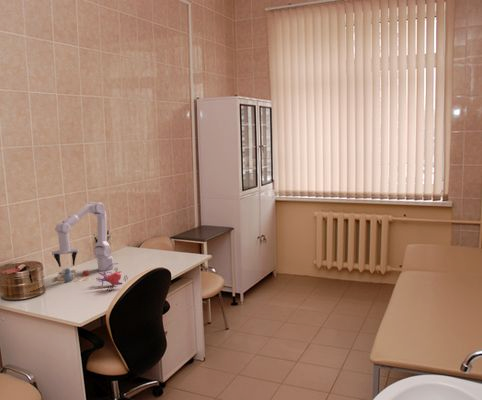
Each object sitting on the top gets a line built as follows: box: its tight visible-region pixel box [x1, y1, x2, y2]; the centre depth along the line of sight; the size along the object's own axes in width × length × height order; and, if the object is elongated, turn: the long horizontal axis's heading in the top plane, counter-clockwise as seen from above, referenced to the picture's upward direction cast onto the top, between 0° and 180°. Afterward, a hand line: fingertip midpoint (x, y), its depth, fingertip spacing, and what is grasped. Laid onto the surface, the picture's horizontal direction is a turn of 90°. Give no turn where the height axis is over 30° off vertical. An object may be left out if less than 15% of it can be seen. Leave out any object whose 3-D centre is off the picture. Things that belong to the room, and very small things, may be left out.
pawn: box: [64, 268, 73, 283], centre depth 279 cm, size 4×4×8 cm
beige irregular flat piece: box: [54, 269, 92, 285], centre depth 284 cm, size 22×17×4 cm
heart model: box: [96, 263, 129, 292], centre depth 266 cm, size 15×9×18 cm
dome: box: [61, 267, 72, 274], centre depth 286 cm, size 6×6×6 cm
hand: (66, 265), depth 278 cm, fingers open, 7 cm apart
